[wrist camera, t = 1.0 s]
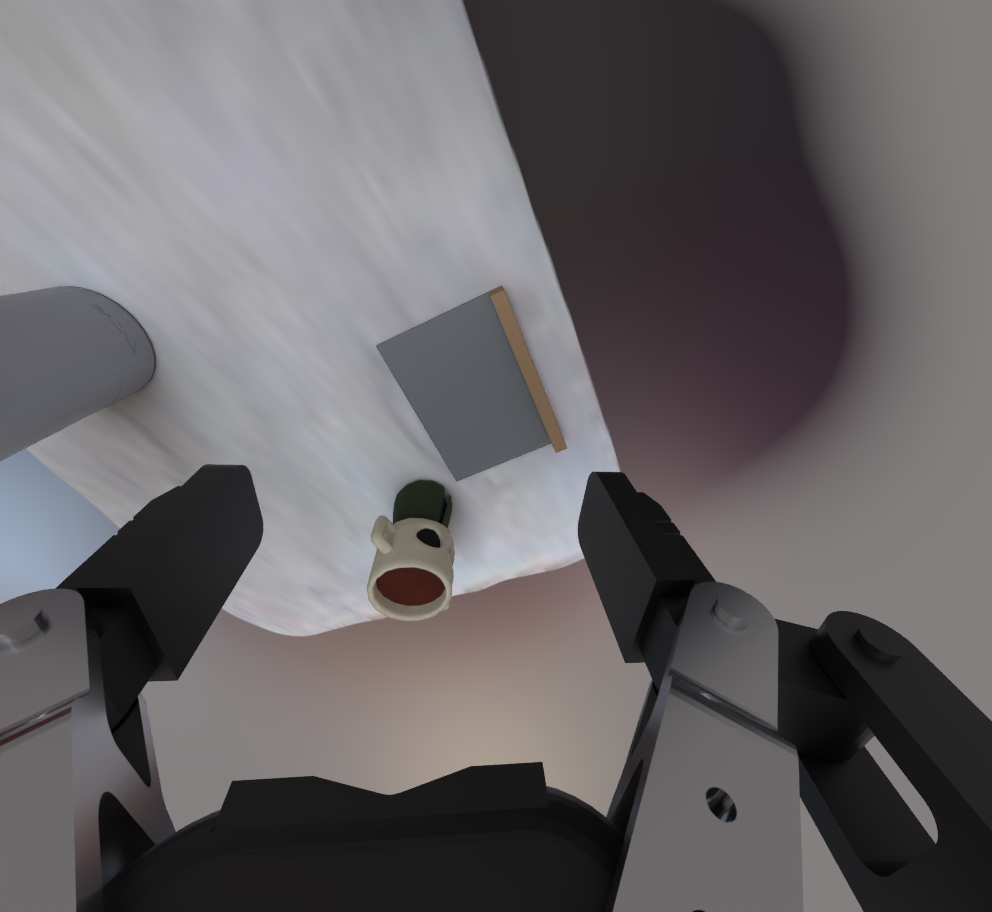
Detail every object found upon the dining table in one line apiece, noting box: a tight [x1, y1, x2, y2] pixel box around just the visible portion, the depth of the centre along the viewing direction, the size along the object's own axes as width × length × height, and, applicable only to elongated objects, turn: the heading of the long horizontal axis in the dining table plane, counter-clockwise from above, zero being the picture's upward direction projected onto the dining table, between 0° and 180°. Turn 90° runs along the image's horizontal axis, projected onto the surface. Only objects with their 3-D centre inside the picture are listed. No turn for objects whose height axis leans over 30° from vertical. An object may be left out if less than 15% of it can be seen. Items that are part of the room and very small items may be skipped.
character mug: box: [367, 481, 455, 621], centre depth 40 cm, size 11×7×13 cm, turn 31°
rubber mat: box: [376, 286, 567, 481], centre depth 38 cm, size 12×16×2 cm
